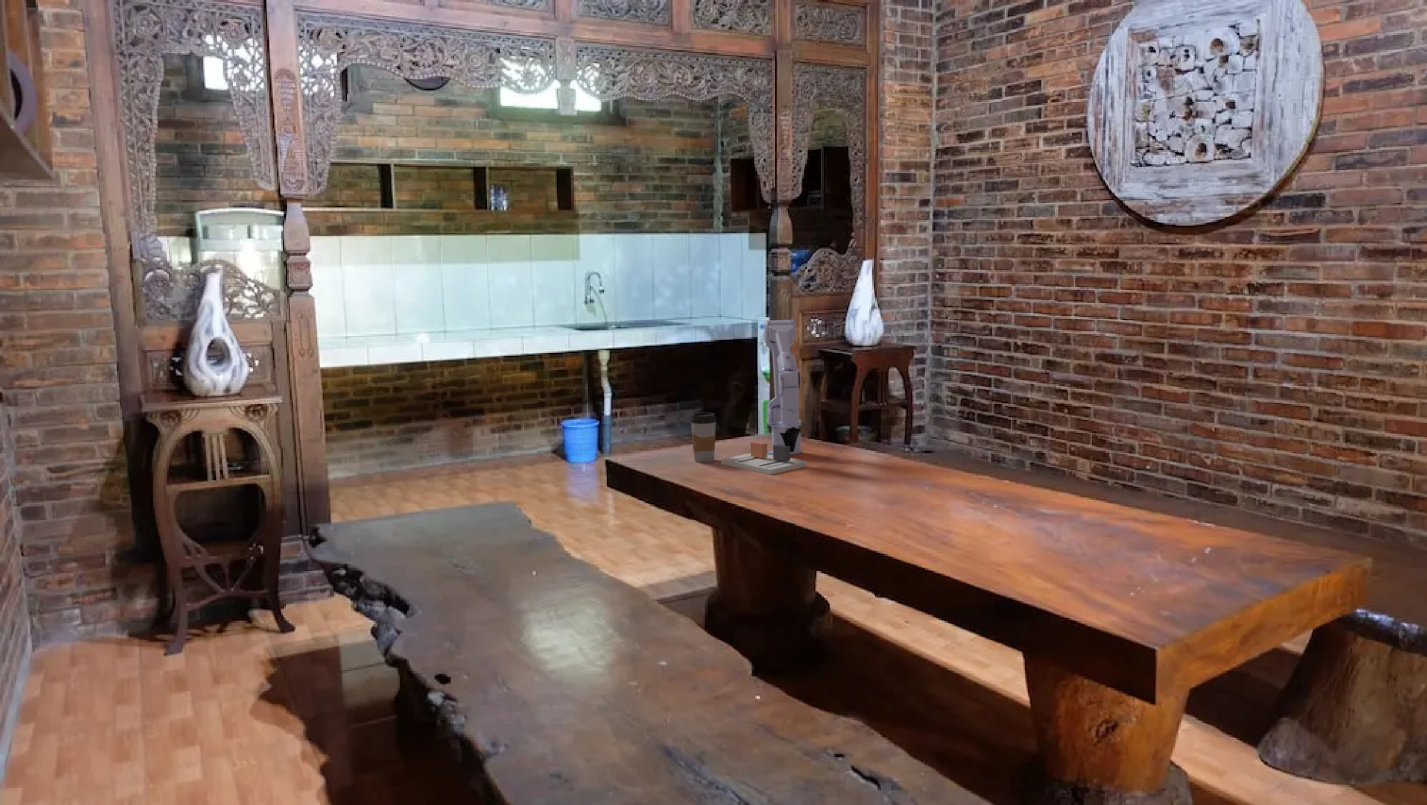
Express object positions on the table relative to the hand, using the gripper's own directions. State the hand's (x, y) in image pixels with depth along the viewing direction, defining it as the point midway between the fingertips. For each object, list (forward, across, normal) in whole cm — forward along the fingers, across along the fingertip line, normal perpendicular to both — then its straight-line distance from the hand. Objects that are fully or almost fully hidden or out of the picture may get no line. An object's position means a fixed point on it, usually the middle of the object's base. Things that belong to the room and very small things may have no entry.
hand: (790, 451), depth 310 cm
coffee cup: (+4, +5, -28) cm, 28 cm away
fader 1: (+2, +1, -10) cm, 10 cm away
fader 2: (+2, +3, -1) cm, 4 cm away
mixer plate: (+4, +4, -7) cm, 9 cm away
